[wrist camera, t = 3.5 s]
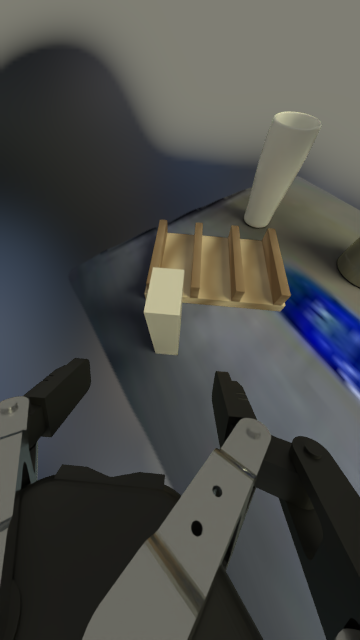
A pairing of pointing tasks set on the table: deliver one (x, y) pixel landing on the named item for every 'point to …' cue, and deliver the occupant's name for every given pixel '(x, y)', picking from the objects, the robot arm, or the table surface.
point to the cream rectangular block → (165, 309)
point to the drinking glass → (280, 163)
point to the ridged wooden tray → (224, 268)
